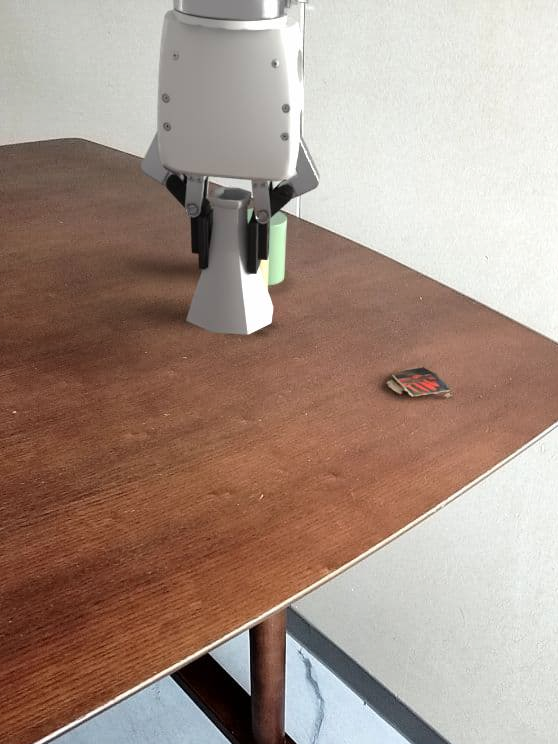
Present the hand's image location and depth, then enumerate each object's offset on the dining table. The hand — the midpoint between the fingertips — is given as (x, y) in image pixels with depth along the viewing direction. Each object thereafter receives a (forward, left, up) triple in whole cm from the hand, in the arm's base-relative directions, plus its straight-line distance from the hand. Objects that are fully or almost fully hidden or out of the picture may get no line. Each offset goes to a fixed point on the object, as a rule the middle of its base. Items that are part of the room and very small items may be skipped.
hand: (230, 262), depth 68 cm
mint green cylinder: (0, +19, -9) cm, 20 cm away
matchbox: (+16, -1, -9) cm, 18 cm away
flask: (0, 0, -5) cm, 5 cm away
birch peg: (0, +9, -9) cm, 12 cm away
